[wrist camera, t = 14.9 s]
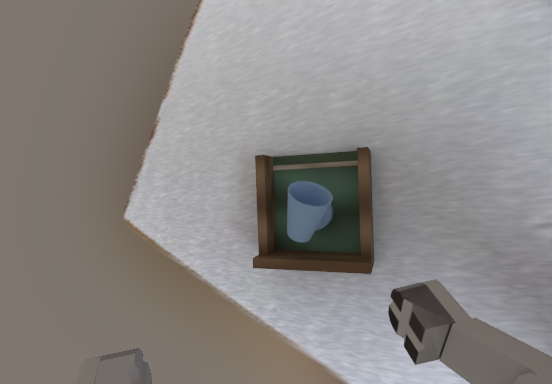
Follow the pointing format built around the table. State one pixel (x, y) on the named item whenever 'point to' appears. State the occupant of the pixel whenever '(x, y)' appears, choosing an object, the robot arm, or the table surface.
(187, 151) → the table surface
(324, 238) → the wooden display tray
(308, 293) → the table surface
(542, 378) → the robot arm
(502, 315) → the table surface
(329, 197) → the spotlight
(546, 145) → the table surface
